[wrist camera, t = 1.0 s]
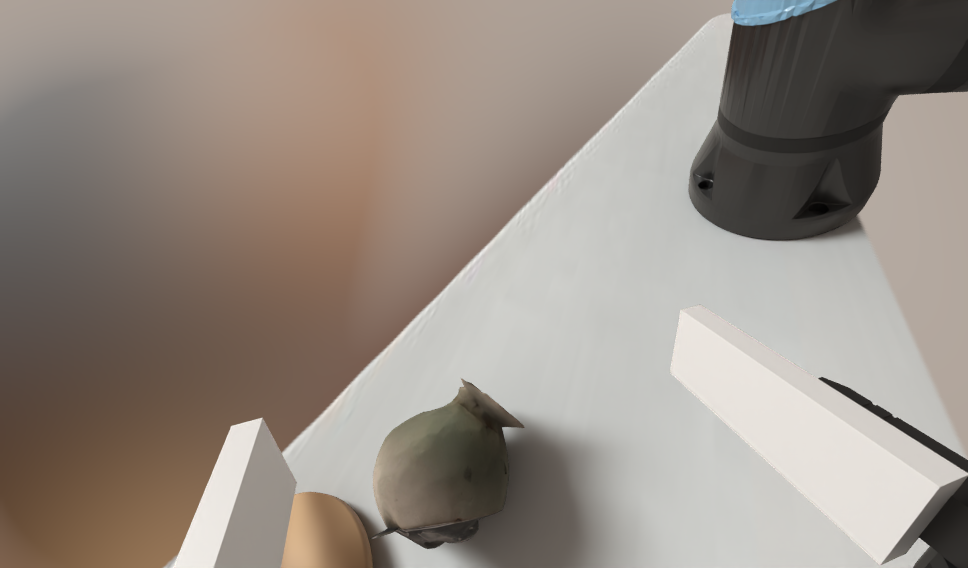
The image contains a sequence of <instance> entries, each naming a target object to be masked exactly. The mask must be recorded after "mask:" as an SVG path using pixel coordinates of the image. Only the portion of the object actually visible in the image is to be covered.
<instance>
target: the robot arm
mask: <svg viewBox="0 0 968 568" xmlns="http://www.w3.org/2000/svg"><path fill="white" fill-rule="evenodd" d="M731 18H732V19H733V20H734V23H733V29H732V35H731V40H730V46H729V52H728V58H727V64H726V69H725V75H724V81H723V87H722V93H721V98H720V105H719V111H718V117H717V120H716V122H715V123H714V125H713V127H712V129H711V131H710V132H709V134H708V136H707V138H706V139H705V141H704V143H703V145H702V146H701V148H700V150H699V152H698V153H697V155H696V157H695V159H694V161H693V164H692V167H691V171H690V179H689V195H690V199H691V201H692V203H693V205H694V207H695V208H696V209H697V211H698V212H699V213H700V214H701V215H702V216H703V217H705V218H706V219H707V220H709V221H710V222H712V223H713V224H715V225H717V226H719V227H721V228H723V229H725V230H727V231H730V232H733V233H736V234H740V235H744V236H748V237H753V238H760V239H773V240H784V239H798V238H805V237H810V236H814V235H818V234H822V233H825V232H828V231H830V230H833V229H835V228H837V227H839V226H841V225H843V224H845V223H847V222H848V221H850V220H851V219H852V218H854V217H855V216H856V215H857V214H858V213H859V212H860V211H861V210H862V209H863V207H864V206H865V204H866V203H867V201H868V199H869V198H870V196H871V194H872V193H873V191H874V189H875V188H876V185H877V183H878V180H879V177H880V171H881V150H882V128H883V122H884V120H885V118H886V116H887V114H888V112H889V110H890V108H891V106H892V104H893V103H894V101H895V100H896V98H897V97H898V96H899V95H908V94H925V93H941V92H943V93H946V92H967V91H968V0H734V2H733V5H732V12H731ZM670 373H671V374H672V375H673V376H674V377H675V378H676V379H677V380H679V381H680V382H681V383H682V384H683V385H684V386H685V387H686V388H687V389H688V390H689V391H691V392H692V393H693V394H694V395H695V396H696V397H697V398H698V399H699V400H700V401H701V402H703V403H704V404H705V405H706V406H707V407H708V408H709V409H710V410H711V411H712V412H713V413H715V414H716V415H717V416H718V417H719V418H720V419H721V420H722V421H723V422H724V423H725V424H727V425H728V426H729V427H730V428H731V429H732V430H733V431H734V432H735V433H736V434H737V435H738V436H740V437H741V438H742V439H743V440H744V441H745V442H746V443H747V444H748V445H749V446H750V447H752V448H753V449H754V450H755V451H756V452H757V453H758V454H759V455H760V456H761V457H762V458H764V459H765V460H766V461H767V462H768V463H769V464H770V465H771V466H772V467H773V468H774V469H776V470H777V471H778V472H779V473H780V474H781V475H782V476H783V477H784V478H785V479H786V480H787V481H789V482H790V483H791V484H792V485H793V486H794V487H795V488H796V489H797V490H798V491H799V492H801V493H802V494H803V495H804V496H805V497H806V498H807V499H808V500H809V501H810V502H811V503H813V504H814V505H815V506H816V507H817V508H818V509H819V510H820V511H821V512H822V513H823V514H825V515H826V516H827V517H828V518H829V519H830V520H831V521H832V522H833V523H834V524H835V525H837V526H838V527H839V528H840V529H841V530H842V531H843V532H844V533H845V534H846V535H847V536H848V537H850V538H851V539H852V540H853V541H854V542H855V543H856V544H857V545H858V546H859V547H860V548H862V549H863V550H864V551H865V552H866V553H867V554H868V555H869V556H870V557H871V558H872V559H874V560H875V561H876V562H877V563H878V564H879V565H882V564H884V563H886V562H889V561H891V560H893V559H895V558H897V557H899V556H901V555H904V554H906V553H907V552H908V550H909V549H910V548H911V547H912V545H913V544H914V543H915V542H916V540H917V539H918V538H921V539H922V540H923V541H924V542H926V543H927V544H928V545H929V546H930V547H929V548H928V549H927V550H926V552H925V553H924V554H923V555H922V556H921V557H920V559H919V560H918V561H917V562H916V563H915V565H914V567H913V568H968V460H967V459H965V458H963V457H962V456H960V455H958V454H957V453H955V452H953V451H952V450H950V449H949V448H947V447H945V446H944V445H942V444H940V443H939V442H937V441H935V440H934V439H932V438H930V437H929V436H927V435H926V434H924V433H922V432H921V431H919V430H917V429H916V428H914V427H912V426H911V425H909V424H907V423H906V422H904V421H903V420H901V419H899V418H898V417H897V418H894V417H893V416H892V414H891V413H889V412H888V411H886V410H884V409H883V408H881V407H879V406H878V405H876V406H875V405H873V404H872V402H871V401H870V400H868V399H866V398H865V397H863V396H861V395H860V394H858V393H856V392H855V391H853V390H852V389H850V388H848V387H846V386H843V385H841V384H838V383H836V382H833V381H831V380H828V379H826V378H823V377H821V378H816V377H814V376H813V375H811V374H810V373H808V372H806V371H805V370H803V369H802V368H800V367H798V366H797V365H795V364H794V363H792V362H791V361H789V360H787V359H786V358H784V357H783V356H781V355H779V354H778V353H776V352H775V351H773V350H771V349H770V348H768V347H767V346H765V345H764V344H762V343H760V342H759V341H757V340H756V339H754V338H752V337H751V336H749V335H748V334H746V333H745V332H743V331H741V330H740V329H738V328H737V327H735V326H733V325H732V324H730V323H729V322H727V321H725V320H724V319H722V318H721V317H719V316H718V315H716V314H714V313H713V312H711V311H710V310H708V309H706V308H705V307H703V306H702V305H697V306H693V307H689V308H685V309H681V312H680V317H679V323H678V329H677V334H676V340H675V345H674V351H673V357H672V362H671V368H670ZM296 483H297V482H296V480H295V478H294V476H293V474H292V473H291V471H290V469H289V467H288V465H287V463H286V461H285V459H284V457H283V456H282V454H281V452H280V450H279V448H278V446H277V445H276V442H275V440H274V439H273V437H272V435H271V433H270V431H269V429H268V427H267V425H266V424H265V422H264V420H263V418H260V419H256V420H253V421H249V422H245V423H241V424H237V425H233V426H231V429H230V431H229V434H228V436H227V438H226V441H225V443H224V446H223V448H222V451H221V453H220V455H219V458H218V460H217V463H216V465H215V468H214V470H213V472H212V475H211V477H210V480H209V482H208V485H207V487H206V489H205V492H204V494H203V497H202V499H201V502H200V504H199V506H198V509H197V511H196V514H195V516H194V518H193V521H192V523H191V526H190V528H189V531H188V533H187V535H186V538H185V540H184V543H183V545H182V547H181V550H180V552H179V555H178V557H177V560H176V562H175V564H174V567H173V568H281V564H282V559H283V553H284V548H285V542H286V537H287V531H288V526H289V521H290V515H291V510H292V504H293V499H294V494H295V488H296Z"/></svg>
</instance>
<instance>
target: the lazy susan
mask: <svg viewBox="0 0 968 568" xmlns="http://www.w3.org/2000/svg"><path fill="white" fill-rule="evenodd" d="M281 568H373V561H372V554H371V548H370V544H369V540H368V536H367V533H366V531H365V528H364V526H363V524H362V522H361V520H360V519H359V517H358V515H357V514H356V513H355V511H354V510H353V509H352V508H351V507H350V506H349V505H348V504H347V503H345V502H344V501H342V500H341V499H339V498H337V497H334V496H331V495H328V494H323V493H316V492H305V493H299V494H295V495H294V499H293V504H292V510H291V515H290V521H289V526H288V531H287V537H286V542H285V548H284V553H283V559H282V564H281Z"/></svg>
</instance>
